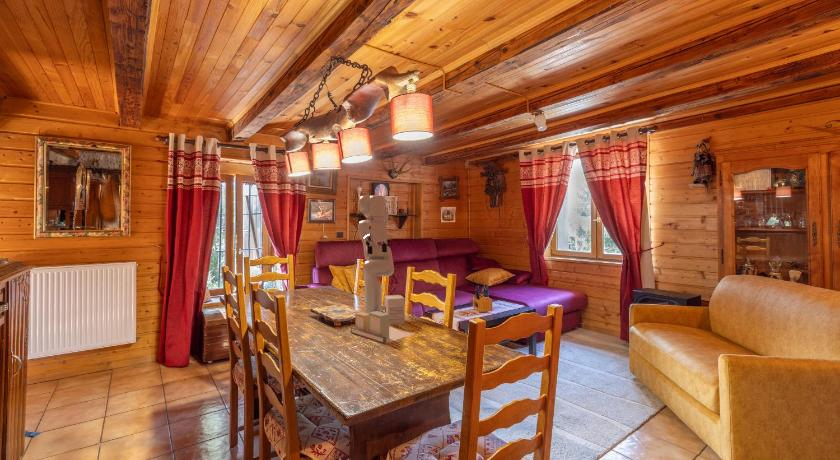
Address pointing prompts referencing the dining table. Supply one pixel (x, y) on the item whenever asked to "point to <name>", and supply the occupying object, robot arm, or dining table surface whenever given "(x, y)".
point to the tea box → (379, 323)
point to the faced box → (362, 321)
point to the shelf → (393, 335)
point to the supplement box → (395, 309)
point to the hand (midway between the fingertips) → (377, 253)
